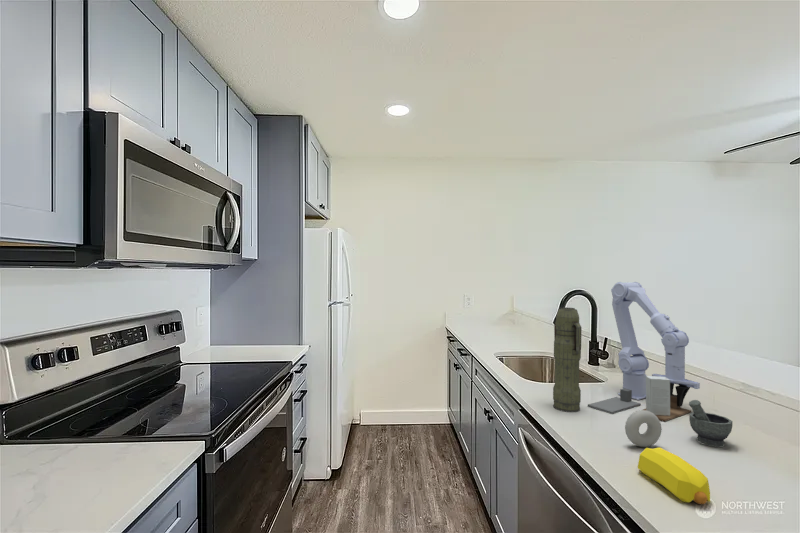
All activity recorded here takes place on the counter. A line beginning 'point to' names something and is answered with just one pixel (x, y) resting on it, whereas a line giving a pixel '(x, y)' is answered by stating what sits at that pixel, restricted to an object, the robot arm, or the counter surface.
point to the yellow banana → (675, 475)
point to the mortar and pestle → (709, 426)
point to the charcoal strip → (616, 402)
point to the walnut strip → (673, 410)
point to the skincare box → (658, 395)
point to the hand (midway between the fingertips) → (674, 404)
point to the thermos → (567, 360)
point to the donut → (651, 433)
